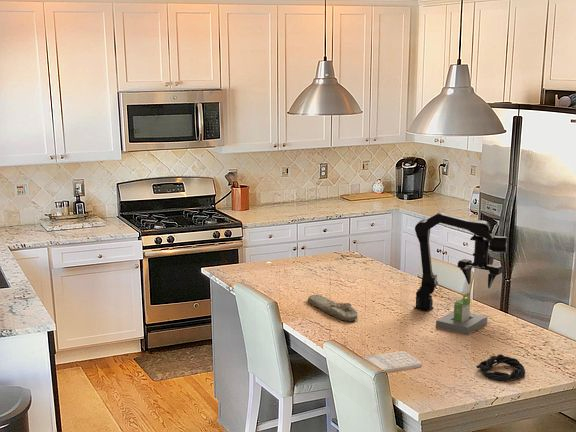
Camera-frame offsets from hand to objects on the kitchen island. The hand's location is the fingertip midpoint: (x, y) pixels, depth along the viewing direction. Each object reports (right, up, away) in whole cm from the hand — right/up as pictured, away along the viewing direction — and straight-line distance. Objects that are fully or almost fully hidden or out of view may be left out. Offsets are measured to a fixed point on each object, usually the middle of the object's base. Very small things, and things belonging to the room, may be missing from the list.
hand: (479, 286), depth 316 cm
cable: (-6, -25, -59) cm, 64 cm away
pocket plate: (-10, -15, -11) cm, 21 cm away
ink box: (-10, -15, -11) cm, 21 cm away
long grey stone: (-63, -12, +8) cm, 64 cm away
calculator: (-45, -24, -51) cm, 72 cm away
